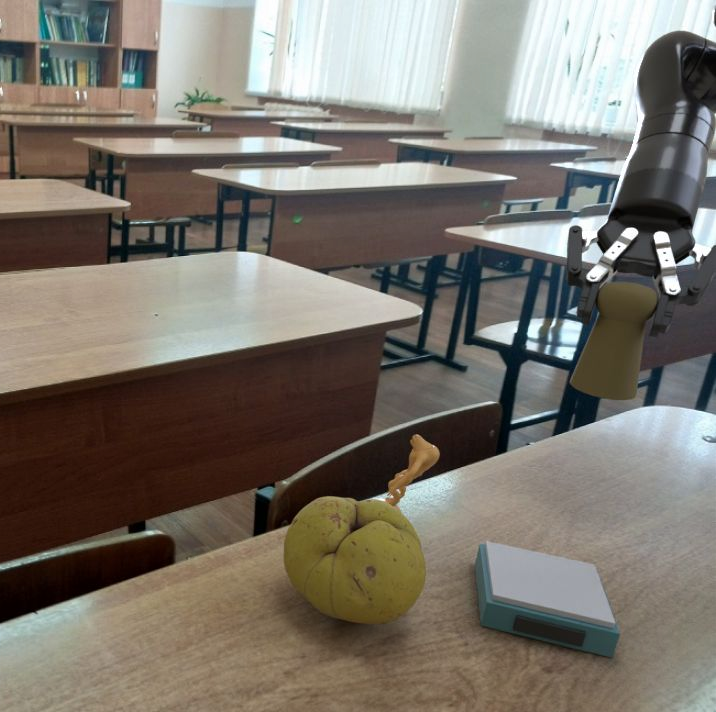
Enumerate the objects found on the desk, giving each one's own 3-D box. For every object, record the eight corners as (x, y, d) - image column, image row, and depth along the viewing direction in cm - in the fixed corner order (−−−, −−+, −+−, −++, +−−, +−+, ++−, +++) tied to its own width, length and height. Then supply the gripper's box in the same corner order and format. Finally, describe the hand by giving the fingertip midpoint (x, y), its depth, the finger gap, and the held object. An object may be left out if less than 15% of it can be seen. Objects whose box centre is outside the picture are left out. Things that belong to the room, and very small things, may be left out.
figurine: (375, 511, 78) (394, 409, 74) (431, 532, 75) (454, 427, 70) (344, 546, 72) (362, 437, 67) (404, 572, 68) (428, 459, 64)
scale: (589, 590, 67) (598, 562, 66) (613, 661, 59) (623, 630, 58) (474, 564, 70) (481, 537, 69) (481, 628, 62) (488, 598, 61)
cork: (580, 372, 79) (607, 273, 75) (644, 390, 75) (675, 286, 71) (560, 386, 75) (587, 282, 71) (626, 405, 71) (658, 296, 67)
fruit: (348, 553, 71) (364, 462, 67) (445, 631, 61) (469, 530, 58) (255, 585, 65) (266, 488, 62) (345, 676, 56) (364, 568, 52)
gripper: (584, 158, 77) (540, 292, 71) (754, 173, 69) (718, 323, 64) (578, 204, 83) (537, 330, 77) (733, 221, 75) (699, 362, 70)
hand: (619, 326), depth 71 cm, fingers closed on cork, 5 cm apart
